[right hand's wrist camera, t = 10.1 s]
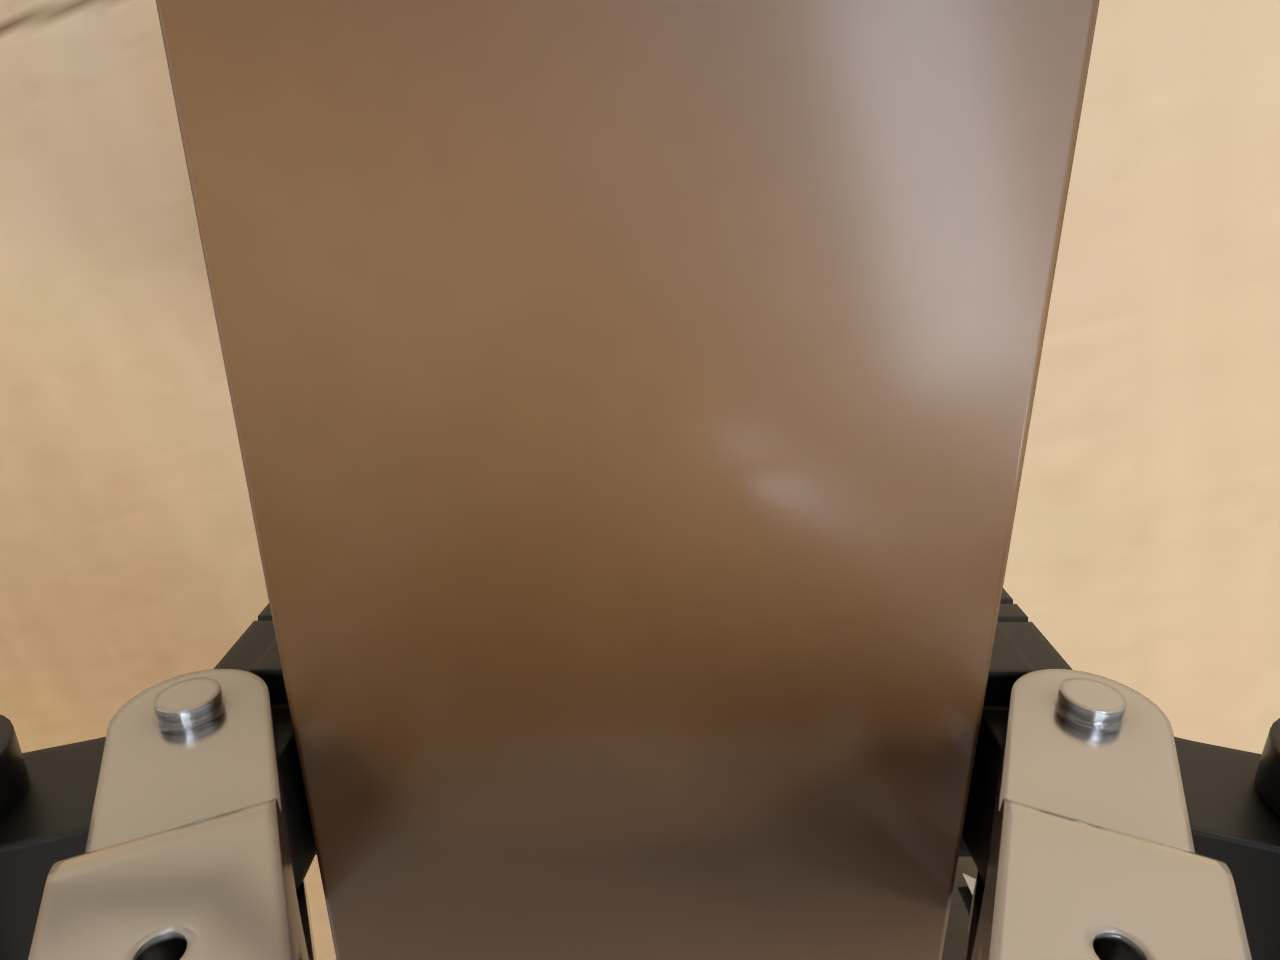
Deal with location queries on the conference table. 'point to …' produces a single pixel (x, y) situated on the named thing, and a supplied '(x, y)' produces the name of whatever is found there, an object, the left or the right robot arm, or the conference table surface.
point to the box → (632, 444)
